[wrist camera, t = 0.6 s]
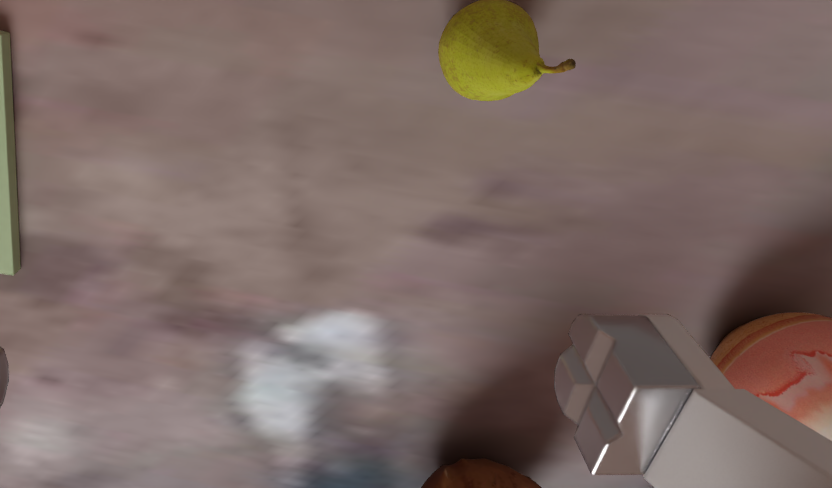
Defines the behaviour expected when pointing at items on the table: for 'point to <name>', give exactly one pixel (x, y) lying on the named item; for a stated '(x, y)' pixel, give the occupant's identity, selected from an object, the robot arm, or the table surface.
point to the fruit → (492, 51)
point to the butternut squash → (478, 476)
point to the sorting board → (7, 167)
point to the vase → (784, 365)
